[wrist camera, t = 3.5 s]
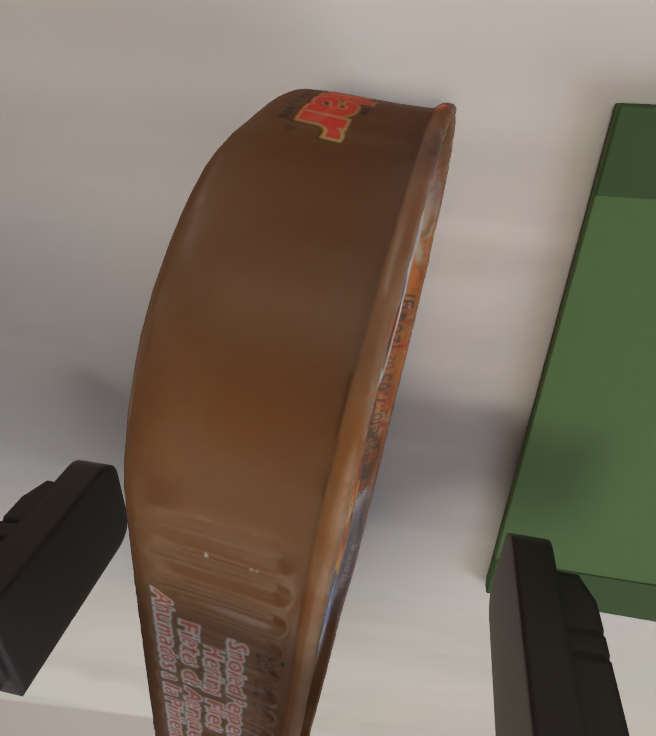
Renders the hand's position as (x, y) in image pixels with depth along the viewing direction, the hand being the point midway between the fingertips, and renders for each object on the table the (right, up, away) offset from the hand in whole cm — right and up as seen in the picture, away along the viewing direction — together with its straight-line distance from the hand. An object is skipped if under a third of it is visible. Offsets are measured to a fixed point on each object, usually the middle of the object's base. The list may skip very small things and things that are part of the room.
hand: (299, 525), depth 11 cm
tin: (+1, +3, +4) cm, 5 cm away
